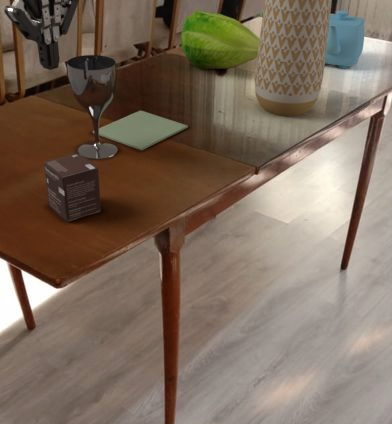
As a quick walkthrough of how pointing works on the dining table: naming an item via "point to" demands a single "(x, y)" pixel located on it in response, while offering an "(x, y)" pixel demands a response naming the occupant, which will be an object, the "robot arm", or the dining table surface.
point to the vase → (291, 55)
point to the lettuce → (217, 41)
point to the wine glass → (93, 96)
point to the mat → (141, 130)
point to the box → (72, 186)
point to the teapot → (344, 39)
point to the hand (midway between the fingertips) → (50, 67)
